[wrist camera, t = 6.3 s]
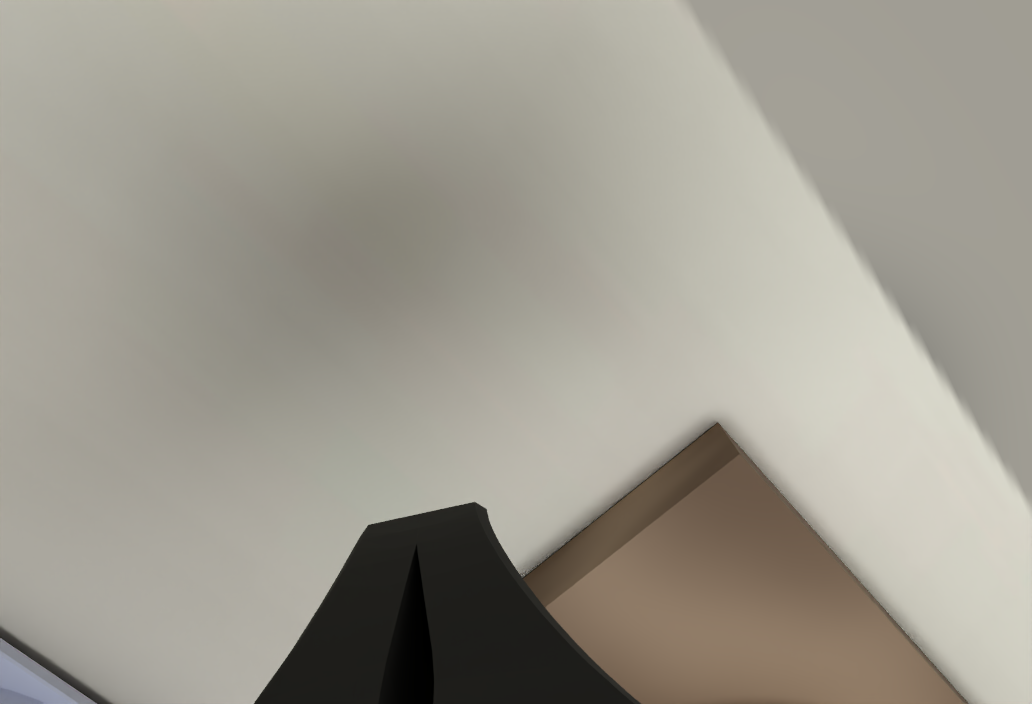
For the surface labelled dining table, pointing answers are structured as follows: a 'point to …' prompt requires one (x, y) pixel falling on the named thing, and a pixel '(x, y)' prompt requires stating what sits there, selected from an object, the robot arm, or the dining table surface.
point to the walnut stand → (727, 597)
